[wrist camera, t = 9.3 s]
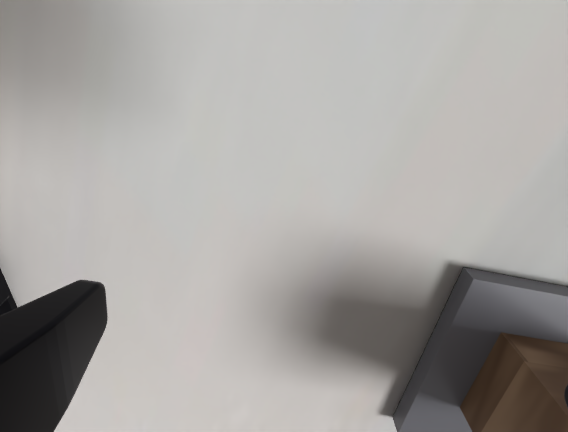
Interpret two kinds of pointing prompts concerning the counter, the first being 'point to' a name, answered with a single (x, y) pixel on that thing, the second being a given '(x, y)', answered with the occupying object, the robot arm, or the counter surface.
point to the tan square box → (520, 387)
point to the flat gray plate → (475, 343)
